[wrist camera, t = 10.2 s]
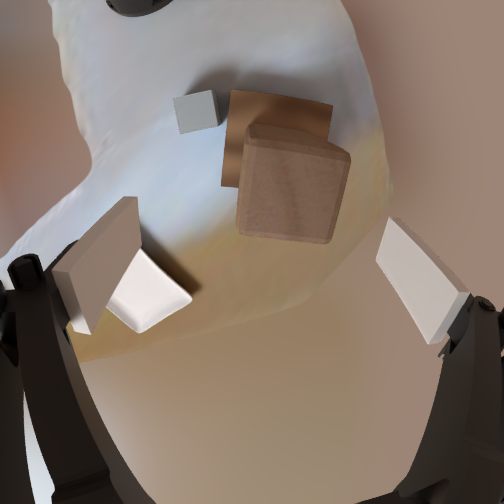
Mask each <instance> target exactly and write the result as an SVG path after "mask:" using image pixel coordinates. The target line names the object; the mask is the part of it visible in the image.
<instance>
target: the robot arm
mask: <svg viewBox="0 0 504 504" xmlns="http://www.w3.org/2000/svg"><path fill="white" fill-rule="evenodd" d="M171 1H172V0H106V2H107V4H108V6H109V7H110V8H111V9H112V10H113V11H115V12H117V13H118V14H120V15H123V16H127V17H138V16H144V15H147V14H150V13H153V12H155V11H157V10H159V9H161V8H163V7H165V6H166V5H167V4H169V3H170V2H171ZM141 246H142V241H141V232H140V222H139V211H138V198H137V197H125V196H124V197H123V198H122V199H121V200H119V201H118V202H117V203H116V204H115V205H114V206H113V207H112V208H111V209H110V210H109V211H107V212H106V213H105V214H104V215H103V216H102V217H101V218H100V219H99V220H98V221H97V222H96V223H95V224H94V225H93V226H92V227H91V228H90V229H89V230H88V231H87V232H86V233H85V234H84V235H83V236H82V237H81V238H80V239H79V240H76V241H74V242H72V243H71V244H69V245H68V246H67V247H66V248H65V249H64V250H63V251H62V253H60V254H59V255H58V256H57V259H55V260H54V261H53V262H52V263H51V264H50V265H49V266H48V267H47V269H46V270H45V271H44V272H43V269H42V266H41V262H40V259H39V257H38V255H36V254H26V255H22V256H20V257H18V258H16V259H15V260H14V261H12V263H11V264H10V265H9V266H8V269H7V271H8V273H9V276H10V278H11V281H12V283H13V286H14V288H15V289H13V290H5V288H4V286H3V284H2V282H1V280H0V504H35V500H34V496H33V492H32V487H31V482H30V476H29V470H28V463H27V456H26V446H25V435H24V410H23V400H24V399H23V398H24V392H25V396H26V401H27V405H28V410H29V413H30V417H31V421H32V425H33V428H34V432H35V435H36V438H37V441H38V444H39V447H40V450H41V453H42V456H43V458H44V461H45V464H46V466H47V469H48V471H49V474H50V476H51V478H52V480H53V483H54V487H55V491H54V493H53V494H52V496H51V498H52V504H156V503H155V502H154V501H153V500H152V498H151V497H149V496H148V494H147V493H146V492H145V491H144V489H143V488H142V487H141V485H140V484H139V482H138V481H137V479H136V478H135V476H134V475H133V473H132V472H131V470H130V469H129V467H128V466H127V464H126V462H125V461H124V459H123V457H122V456H121V454H120V452H119V451H118V449H117V447H116V445H115V444H114V442H113V440H112V438H111V436H110V434H109V433H108V430H107V428H106V427H105V425H104V423H103V421H102V419H101V416H100V414H99V412H98V410H97V408H96V406H95V404H94V401H93V399H92V397H91V394H90V392H89V390H88V387H87V385H86V382H85V380H84V377H83V375H82V372H81V369H80V367H79V364H78V361H77V358H76V355H75V352H74V349H73V346H72V343H71V340H70V337H69V333H68V331H67V329H66V326H67V324H68V322H69V321H71V324H72V326H73V328H74V330H75V331H76V332H80V333H85V334H90V335H91V334H92V332H93V330H94V328H95V326H96V325H97V323H98V321H99V319H100V317H101V315H102V313H103V311H104V309H105V307H106V306H107V304H108V302H109V300H110V298H111V296H112V295H113V293H114V291H115V289H116V287H117V286H118V284H119V282H120V280H121V279H122V277H123V275H124V274H125V272H126V270H127V269H128V267H129V265H130V264H131V262H132V260H133V259H134V257H135V255H136V254H137V252H138V251H139V249H140V247H141ZM376 262H377V263H378V265H379V266H380V268H381V269H382V271H383V272H384V274H385V275H386V276H387V278H388V280H389V281H390V283H391V284H392V286H393V287H394V289H395V290H396V292H397V294H398V295H399V297H400V298H401V300H402V301H403V303H404V305H405V306H406V308H407V309H408V311H409V313H410V315H411V316H412V318H413V320H414V321H415V323H416V324H417V326H418V328H419V330H420V332H421V333H422V335H423V337H424V339H425V340H426V342H427V344H428V345H429V344H435V343H440V342H441V341H442V339H443V337H444V336H445V334H446V333H448V334H449V336H450V339H449V340H448V342H447V343H446V345H445V346H444V347H443V349H442V350H441V352H440V353H439V355H438V357H440V356H441V355H442V354H444V357H443V365H442V369H441V374H440V379H439V383H438V388H437V391H436V396H435V399H434V403H433V406H432V410H431V413H430V417H429V420H428V423H427V426H426V429H425V432H424V435H423V438H422V440H421V443H420V446H419V449H418V451H417V454H416V456H415V459H414V461H413V463H412V466H411V468H410V470H409V472H408V474H407V476H406V477H405V478H404V479H403V480H402V482H400V484H399V485H397V487H396V488H395V489H394V490H393V492H391V493H388V494H385V495H382V496H379V497H376V498H372V499H369V500H365V501H362V502H359V503H356V504H504V356H503V357H501V352H502V351H503V349H504V308H503V309H502V311H501V312H497V311H496V309H495V307H494V305H493V304H492V303H491V302H490V301H489V300H487V299H485V298H483V297H481V296H476V297H475V298H474V297H473V296H472V294H471V293H470V291H469V290H468V288H467V287H466V286H465V285H464V284H463V283H462V281H461V280H460V279H459V278H458V277H457V276H456V275H455V273H454V272H453V271H452V270H451V269H450V268H449V267H448V266H447V265H446V264H445V263H444V262H443V261H442V259H441V258H440V257H439V256H438V255H437V254H436V253H435V252H434V251H433V250H432V249H431V248H430V247H429V246H428V245H427V244H426V243H425V242H424V241H423V240H422V239H421V238H420V237H419V236H418V235H417V234H416V233H415V232H414V231H413V230H412V229H411V228H410V227H409V226H408V225H406V224H405V223H404V222H403V221H402V220H401V219H400V218H394V217H389V219H388V222H387V225H386V229H385V232H384V235H383V238H382V241H381V244H380V248H379V251H378V254H377V257H376Z"/></svg>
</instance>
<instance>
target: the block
mask: <svg viewBox="0 0 504 504" xmlns="http://www.w3.org/2000/svg"><path fill="white" fill-rule="evenodd" d="M350 164H351V158H350V154H349V153H348V152H346V151H345V150H344V149H342V148H340V147H338V146H336V145H334V144H332V143H330V142H327V141H325V140H323V139H321V138H319V137H317V136H315V135H312V134H310V133H308V132H306V131H301V130H295V129H289V128H283V127H276V126H270V125H262V124H254V123H253V124H249V125H248V126H247V128H246V131H245V139H244V147H243V155H242V163H241V171H240V180H239V191H238V202H237V214H236V228H237V231H238V233H239V234H242V235H244V236H252V237H261V238H271V239H280V240H289V241H298V242H307V243H316V244H328V243H329V242H330V241H331V239H332V236H333V233H334V229H335V225H336V221H337V218H338V214H339V210H340V206H341V202H342V198H343V194H344V190H345V186H346V182H347V177H348V173H349V169H350Z"/></svg>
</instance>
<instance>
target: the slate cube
mask: <svg viewBox="0 0 504 504" xmlns="http://www.w3.org/2000/svg"><path fill="white" fill-rule="evenodd" d="M173 101H174V106H175V111H176V117H177V121H178V126H179V131H180V134H184V133H188V132H192V131H197V130H202V129H207V128H212V127H217V126H219V125H221V120H220V114H219V109H218V103H217V98H216V92H215V91H213V90H207V91H203V92H198V93H194V94H189V95H185V96H181V97H177V98H173Z"/></svg>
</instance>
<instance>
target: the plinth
mask: <svg viewBox="0 0 504 504" xmlns="http://www.w3.org/2000/svg"><path fill="white" fill-rule="evenodd" d="M332 109H333V106H332V105H328V104H324V103H319V102H314V101H309V100H304V99H299V98H293V97H288V96H281V95H275V94H268V93H260V92H252V91H242V90H231V95H230V103H229V112H228V120H227V129H226V138H225V148H224V158H223V168H222V179H221V186H224V187H235V188H239V180H240V171H241V163H242V155H243V147H244V139H245V131H246V128H247V126H248V125H249V124H253V123H254V124H262V125H270V126H276V127H283V128H289V129H295V130H301V131H306V132H308V133H310V134H312V135H315V136H317V137H319V138H321V139H323V140H325V141H327V138H328V133H329V127H330V121H331V115H332Z"/></svg>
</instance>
